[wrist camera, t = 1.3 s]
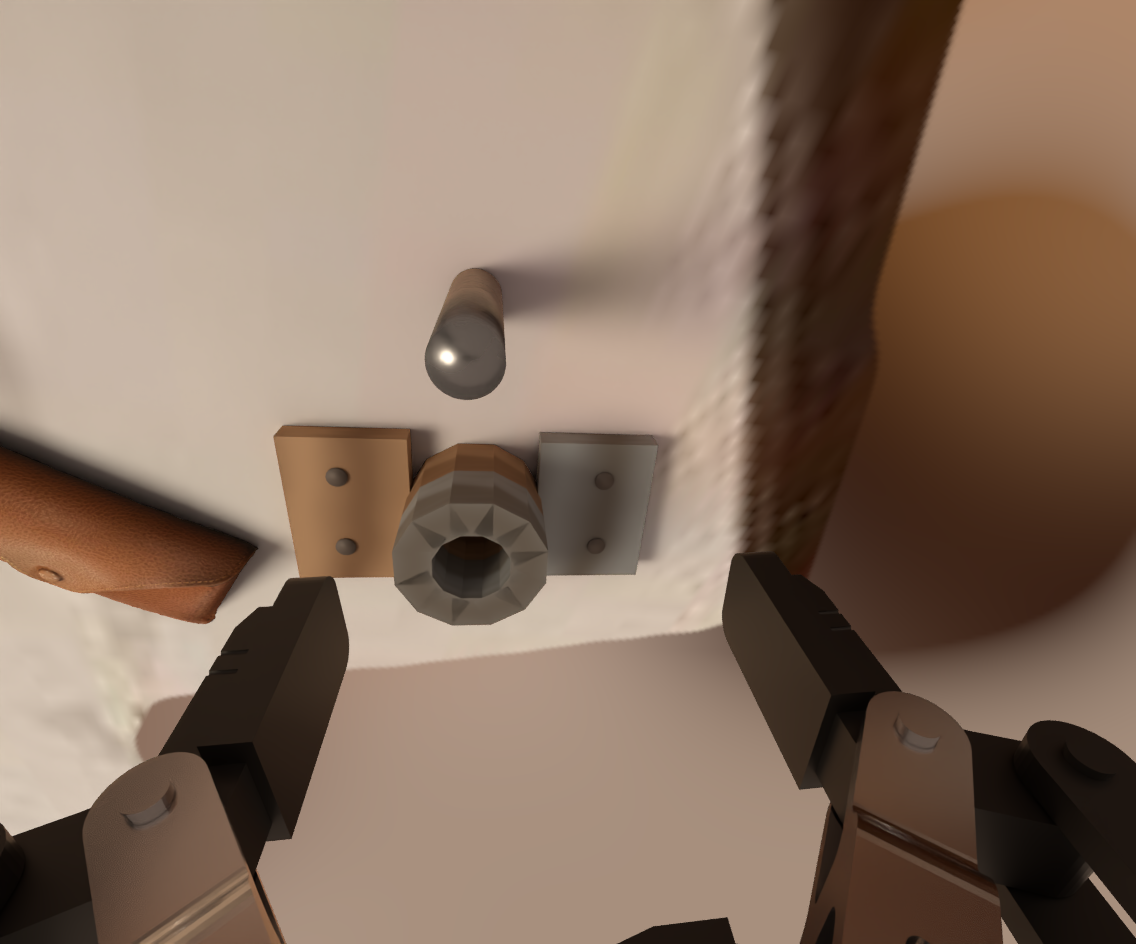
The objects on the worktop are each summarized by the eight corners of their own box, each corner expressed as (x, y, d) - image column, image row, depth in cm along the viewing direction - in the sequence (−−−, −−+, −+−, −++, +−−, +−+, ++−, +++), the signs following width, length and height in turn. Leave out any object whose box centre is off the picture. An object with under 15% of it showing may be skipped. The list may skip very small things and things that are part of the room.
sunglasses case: (-107, 520, 32) (-213, 535, 26) (-35, 414, 33) (-120, 404, 27) (217, 628, 38) (194, 661, 32) (268, 536, 39) (256, 551, 33)
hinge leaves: (307, 563, 37) (269, 641, 30) (282, 425, 32) (232, 485, 26) (630, 561, 40) (655, 631, 34) (652, 435, 35) (685, 490, 29)
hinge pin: (450, 320, 30) (426, 398, 20) (449, 266, 29) (423, 319, 18) (501, 323, 31) (504, 401, 20) (502, 270, 29) (506, 324, 19)
